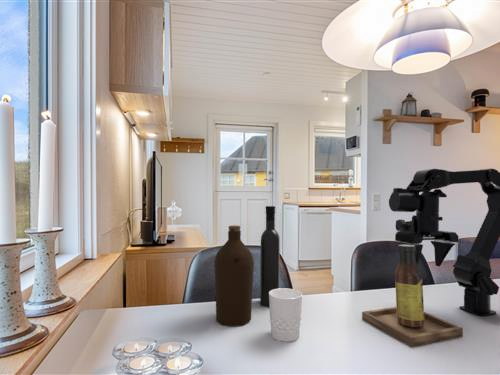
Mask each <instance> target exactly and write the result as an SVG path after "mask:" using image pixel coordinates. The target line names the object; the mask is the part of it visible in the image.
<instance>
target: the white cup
mask: <svg viewBox="0 0 500 375" xmlns="http://www.w3.org/2000/svg"><path fill="white" fill-rule="evenodd" d="M302 303H303V293H302V292H301V291H300V290H297V289H293V288H286V287H285V288H284V287H283V288H281V287H279V289H273V290H271V291H270V292H269V306H268V307H269V322H270V336H271V337H272V338H273V339H275V340H276V341H279V342H286V343H288V342H289V343H290V342H294V341H297V340H299V338H300V332H301V330H300V328H301V321H302V305H303V304H302Z"/></svg>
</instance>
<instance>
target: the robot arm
mask: <svg viewBox="0 0 500 375" xmlns="http://www.w3.org/2000/svg"><path fill="white" fill-rule="evenodd" d="M471 183H472V184H473V183H475V184H476V183H478V184H479V185H480V188H481V190H482V192H483V193H484V195H486V196H487V198H486V204H487V207H488V208H487V213H486V215H485V218H484V220H483V221H482V223H481V227H480V228H479V230H478V233H477V235H476V237H475V240H474V241H473V243H472V245H471V248H470V250H469V252H468V253H467V254H465V255H462V254H458V256H457V258H456V260H455V263H454V264H453V265H452V267H453V271H452V273H453V275H454V277H455V280H456V281H457V285H458V286H459V287H462V288H464V289H463V290H464V293H463V305H460V306H459V309H460V310H462V311H466V312H467V313H471V314H475V315H477V316H480V317H484V316H485V317H486V316H489V315H490V316H491V315H496V314H497V311H496V310H492V309H491V308H492V307H491V296H494V295H498V293H499V289H500V287H499V286H498V284H497V283H496V282H494V280H493V279H492V277H491V275H492V272H493V271H492V266H491V262H490V260H491V257H492V255H493V253H494V251H495V249H496V246H497V243H498V241H499V239H500V171H499V170H497V169H495V168H483V169H474V170H461V171H460V170H459V171H449V170H445V169H442V168H441V169H438V168H429V169H423V170H418V171H416V172H415V174H414V175H413V177H412V179H411V182H409V184H407V187H406V188H403V187H402V188H401V187H394V188H393V189H392V190H393V191H392V192H391V194H390V197H389V199H388V207H389V209H390V210H391V211H392V212H394V213H395V212H396V213H397V212H400V213H401V212H402V213H403V212H404V213H414V212H415V214H414V215H412V216H411V220H410V221H406V220H405V219H396V220H395V230H396V232H395V237H394V238H395V239H394V241H397V242H398V243H399V244H398V245H415V247H416V252H415V258H416V263H417V266H419V263H420V259H421V254H422V252H423V247H424V244H422V242H423V241H430V243H431V245H432V246H433V249H434V262H435V263H434V264H435V266H436V267H441V265H442V263H443V262H444V260H445V258H446V257H447V255H448V254H449V252H450V251H451V250H452V248H454V246H456V243H459V235H458V234H457V233H456V232H454V231H449V230H448V231H447V230H446V231H445V230H440V228H439V227H440V221H443V216H440V198H447V197H448V196H447V194H446V193H445V192H443V190H442V188H445V187H448V186H451V185H454V184H455V185H457V184H471ZM432 190H433V191H432Z"/></svg>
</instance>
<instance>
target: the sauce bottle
mask: <svg viewBox="0 0 500 375" xmlns="http://www.w3.org/2000/svg"><path fill="white" fill-rule="evenodd" d="M397 248H398V249H397V250H398V252H399V255H398V257H399V259H398V261H399V263H398V265H397V267H396V269H395V274H394V276H395V281H394V282H395V302H396V303H395V305H396V306H395V307H396V308H397V317H398V322H399V323H400V324H402V325H404V326H407V327H412V328H420V327H422V326H423V325H424V312H425V308H424V307H425V306H424V288H423V276H422V274H421V271H420V268H419V267H418V266H419V265H418V266H417V263H416V258H415V252H416V247H415V245H402V244H398V246H397Z"/></svg>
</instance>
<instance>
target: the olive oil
mask: <svg viewBox="0 0 500 375" xmlns="http://www.w3.org/2000/svg"><path fill="white" fill-rule="evenodd" d="M227 238H228V239H227V241H226V242H225V243H224V244H223V245H222V246H221V247H220V249H219V250H218V251H217V253H216V254H215V258H214V264H213V266H214V285H215V286H214V287H215V288H214V289H215V291H214V292H215V296H214V298H215V299H214V300H215V319H216V320H215V321H216V322H217V323H218V324H220V325H222V326H226V327H240V326H244V325H247V324H248V323H250V321H251V320H252V302H253V281H254V268H255V267H254V264H255V261H254V256H253V254H252V252H251V250H250V248H248V247H247V246H246V245H245V243H244V242H243V241H242V240H241V226H240V225H229V226H228V232H227Z"/></svg>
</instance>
